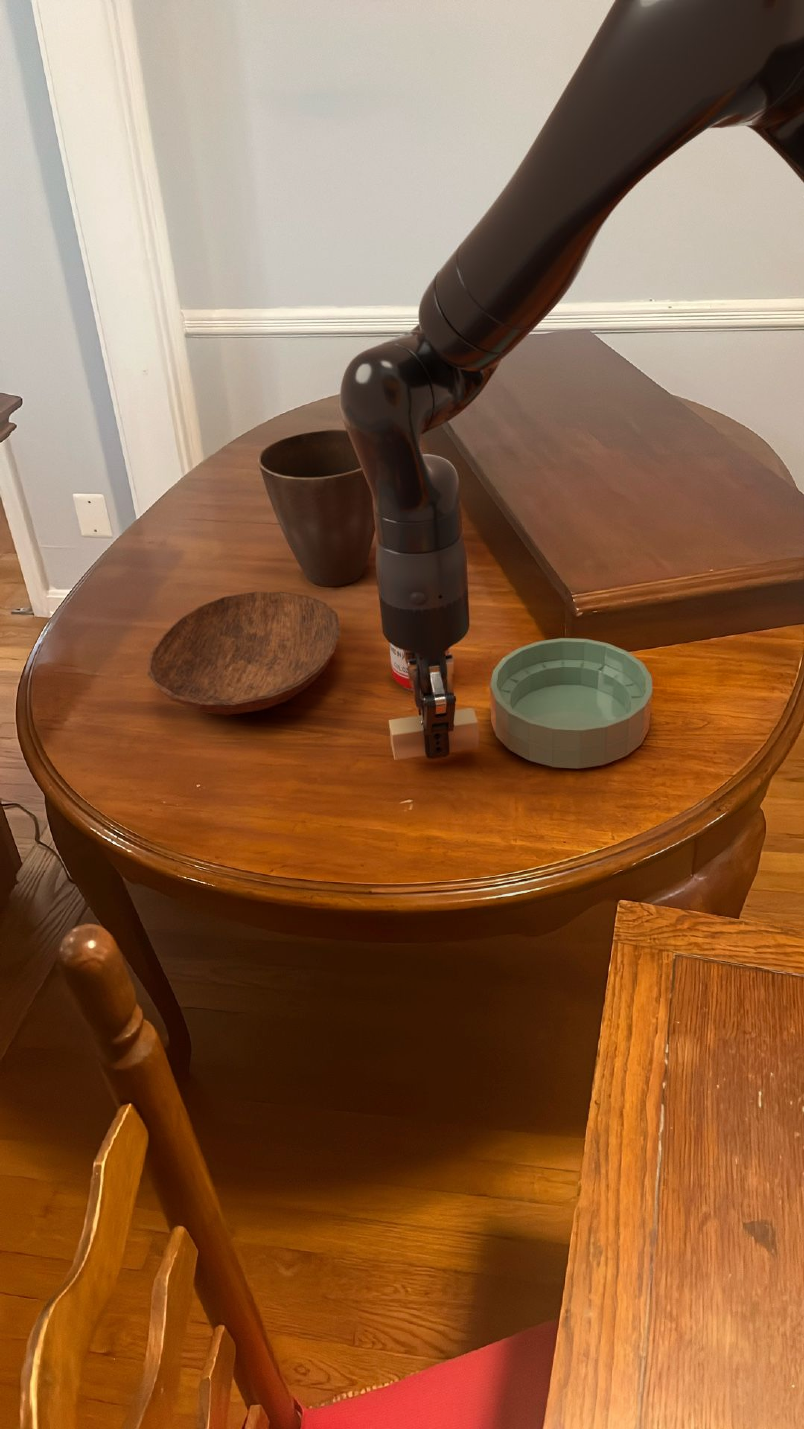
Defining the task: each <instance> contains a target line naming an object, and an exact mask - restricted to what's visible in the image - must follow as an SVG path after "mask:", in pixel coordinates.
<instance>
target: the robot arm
mask: <svg viewBox="0 0 804 1429" xmlns="http://www.w3.org/2000/svg"><path fill="white" fill-rule="evenodd" d="M735 127H747V128H749V129H751V130H752V131H754V132H755V133H756V134H757V135H758V136H759V137H760V138H761V139H762V140H764V141H765V142H766V144H768V146H770V147H771V148H772V149H773V150H774V151H775V153H777V154H778V155H779V157H781V158H782V160H784V162H785V163H786V164H787V166H789V168H790V169H791V170H792V171H793V172H794V173H795V175H796V176H797V177H798V178H799V179H800V180H801V182H802V183H803V184H804V0H614V1H613V2H612V5H611V7H610V9H609V10H608V12H607V14H606V15H605V18H604V19H603V21H602V22H601V24H600V27H599V28H598V30H597V32H596V34H595V35H594V37H593V39H592V41H591V42H590V45H589V46H588V48H587V49H586V51H585V53H584V55H583V57H582V59H581V60H580V63H579V64H578V66H577V68H576V69H575V71H574V73H573V74H572V76H571V78H570V80H569V81H568V84H566V86H565V88H564V90H563V92H562V93H561V95H560V96H559V98H558V100H557V102H556V103H555V105H554V107H553V109H552V110H551V112H550V114H549V115H548V117H547V119H546V120H545V122H544V124H543V126H542V127H541V129H540V131H539V132H538V134H537V136H536V137H535V139H534V141H533V143H532V144H531V146H530V147H529V149H528V151H527V153H526V154H525V156H524V157H523V159H522V160H521V161H520V164H519V165H518V167H517V168H516V170H515V171H514V173H513V174H512V176H511V177H510V179H509V180H508V182H507V183H506V184H505V186H504V187H503V188H502V190H501V192H500V193H499V194H498V196H497V197H496V198H495V200H494V201H493V202H492V204H491V205H490V207H489V208H488V209H487V210H486V212H485V213H484V214H483V215H482V217H481V218H480V219H479V220H478V221H477V223H476V224H475V225H474V227H473V228H472V229H471V230H470V231H469V233H468V234H467V235H466V236H465V237H464V238H463V240H462V241H461V243H460V244H459V245H458V246H457V248H456V249H455V250H454V251H453V252H452V254H451V255H450V256H449V257H448V258H447V260H446V261H445V262H444V264H443V265H442V266H441V268H440V269H439V270H438V271H437V272H436V273H435V275H434V276H433V278H432V279H431V280H430V282H429V284H428V285H427V286H426V288H425V290H424V291H423V294H422V296H421V299H420V302H419V305H418V313H417V314H418V316H417V318H418V324H417V325H416V326H415V327H413V328H412V329H410V330H409V331H408V332H406V333H403V334H401V335H398V336H396V337H394V338H392V339H389V340H387V341H385V342H382V343H379V344H377V345H375V346H372V347H370V348H368V349H365V350H362V351H360V352H359V353H358V354H356V355H355V356H354V357H353V358H352V359H351V360H350V361H349V363H348V364H347V366H346V368H345V369H344V372H343V375H342V378H341V381H340V389H339V409H340V413H341V419H342V422H343V425H344V428H345V430H347V433H348V435H349V438H350V440H351V443H352V445H353V448H354V450H355V453H356V455H357V458H358V460H359V463H360V466H361V469H362V471H363V474H364V476H365V478H366V481H367V483H368V486H369V488H370V491H371V494H372V504H373V513H374V523H375V546H376V547H375V572H376V581H377V588H378V592H377V593H378V599H379V609H380V620H381V628H382V629H381V630H382V634H383V636H384V637H385V639H386V641H387V642H388V643H389V642H390V643H391V644H392V645H394V646H395V647H397V648H400V649H403V650H404V657H405V661H406V664H407V666H408V677H409V682H410V686H411V687H412V688H413V691H412V694H413V695H412V696H413V702H414V704H415V706H416V708H417V712H418V713H417V714H418V716H419V715H421V719H422V720H420V722H421V725H422V726H423V732H424V744H425V753H426V758H427V759H429V760H434V759H440V758H446V757H448V756H450V753H451V752H450V749H449V733H448V732H451V731H453V727H454V716H455V710H456V702H457V696H456V695H455V693H454V686H453V675H454V674H455V662H454V655H453V653H450V654H449V648H450V649H451V647H453V646H455V645H457V644H458V643H459V642H461V641H462V640H463V639H464V638H465V637H466V635H467V634H468V632H469V629H470V625H471V624H470V623H471V622H470V603H469V583H468V582H469V579H468V560H467V552H466V546H465V542H464V541H465V540H464V538H463V537H464V536H463V517H462V516H463V515H462V501H461V500H462V498H461V497H462V496H461V486H460V484H461V483H460V479H459V478H460V477H459V475H458V474H459V473H458V471H457V470H456V468H455V466H454V465H453V464H452V463H451V461H449V460H448V459H446V458H444V457H442V456H438V455H436V454H430V453H429V454H428V453H423V452H422V447H421V446H422V445H421V437H422V435H424V434H427V433H428V432H430V431H431V430H434V429H436V428H438V427H439V426H442V425H444V424H445V423H448V422H449V421H451V420H453V419H454V418H455V417H457V416H459V415H460V414H461V413H462V412H463V411H464V410H466V408H468V407H469V406H470V405H471V404H472V403H473V402H474V401H475V400H476V399H477V398H478V396H479V395H480V394H481V393H482V392H483V390H484V388H485V387H486V386H487V384H488V383H489V381H490V380H491V378H492V376H494V374H495V372H496V371H497V369H498V367H499V366H500V364H501V362H502V360H503V359H504V358H506V357H507V356H508V355H509V354H510V353H511V352H512V351H513V350H514V349H515V348H516V347H517V346H518V345H519V344H520V343H521V342H522V341H523V340H524V339H525V338H526V337H527V336H528V335H529V334H530V333H532V331H533V330H534V329H535V328H536V327H538V325H539V324H540V323H541V322H542V321H543V320H544V319H545V318H546V317H547V316H548V315H549V314H550V313H551V311H552V310H553V309H554V308H555V307H556V306H557V305H558V304H559V303H560V301H562V299H563V298H564V296H565V295H566V294H567V292H568V291H569V290H570V289H571V287H572V285H573V284H574V282H575V281H576V279H577V278H578V276H579V273H580V272H581V270H582V268H583V266H584V264H585V263H586V260H587V259H588V255H589V254H590V252H591V250H592V248H593V245H594V242H595V241H596V238H597V236H598V235H599V233H600V231H601V229H602V228H603V227H604V225H605V223H606V222H607V220H608V219H609V217H610V215H611V214H612V213H613V212H614V210H615V209H616V208H617V207H618V205H620V203H621V202H622V201H623V200H624V199H625V198H626V196H627V195H629V193H630V192H631V191H632V190H633V189H634V188H635V187H636V186H637V185H638V184H639V183H640V182H641V181H643V180H644V178H646V176H648V175H649V174H650V173H651V172H653V170H655V169H657V167H659V165H661V164H662V163H663V162H664V161H666V160H667V159H669V158H670V157H671V156H672V155H674V154H676V152H677V151H679V150H680V149H682V148H683V147H684V146H685V145H687V144H688V143H690V142H691V141H692V140H694V139H695V138H696V137H698V136H699V135H701V134H702V133H703V132H705V131H706V130H708V129H723V128H735Z"/></svg>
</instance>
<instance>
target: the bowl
mask: <svg viewBox="0 0 804 1429" xmlns="http://www.w3.org/2000/svg"><path fill="white" fill-rule="evenodd" d="M340 637H341V627H340V621H339V614H338V613H337V612H336V611H335V610H334V609H333V608H332V607H330V605H328V604H327V603H326V602H324V601H322V600H319V599H317V598H315V597H312V596H309V595H306V594H298V593H292V592H285V591H251V592H246V593H239V594H232V595H226V596H221V597H220V598H217V599H214V600H212V601H210V602H207V603H205V604H202V605H200V606H198V607H196V608H195V609H193V610H192V611H190V612H188V613H187V614H186V615H183V616H182V617H181V618H179V619H178V620H177V621H176V622H175V623H174V624H173V625H172V626H171V627H170V628H169V629H168V630H167V631H166V632H165V633H164V634H162V636H161V637H160V638H159V640H158V642H157V643H156V644H155V646H154V647H153V648H152V651H151V652H150V654H149V662H148V669H147V675H148V677H149V678H150V680H151V681H152V683H153V684H154V685H155V687H156V688H157V689H158V690H159V691H160V692H161V693H162V694H163V695H165V697H167V698H168V699H169V700H170V701H173V702H175V703H178V704H181V705H183V706H187V707H188V708H189V707H190V708H192V709H195V710H197V711H200V712H203V713H206V714H207V713H208V714H216V715H223V716H230V715H236V714H243V713H250V712H257V711H263V710H266V709H269V708H272V707H274V706H277V705H280V704H282V703H285V702H287V701H290V700H291V699H293V698H294V697H296V695H298V694H299V693H301V692H302V691H304V690H306V689H307V688H308V687H309V686H310V685H312V683H313V682H314V681H315V680H316V679H317V678H318V677H319V676H320V674H321V673H323V671H325V669H326V667H327V666H328V665H329V663H330V660H331V659H332V657H333V655H334V652H335V649H336V647H337V645H338V642H339V639H340Z"/></svg>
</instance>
